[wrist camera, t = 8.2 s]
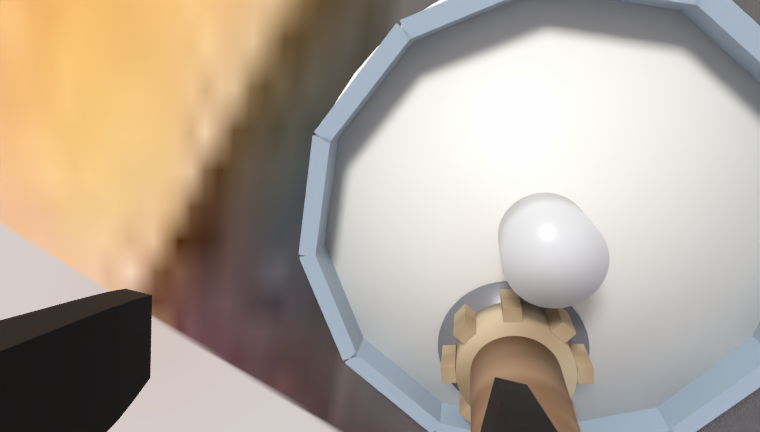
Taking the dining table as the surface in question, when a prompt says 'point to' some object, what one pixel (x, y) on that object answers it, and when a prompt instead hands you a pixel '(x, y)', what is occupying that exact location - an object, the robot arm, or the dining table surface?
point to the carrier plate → (580, 143)
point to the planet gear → (516, 358)
